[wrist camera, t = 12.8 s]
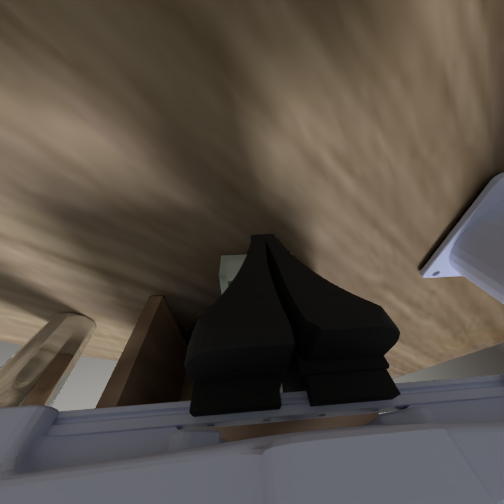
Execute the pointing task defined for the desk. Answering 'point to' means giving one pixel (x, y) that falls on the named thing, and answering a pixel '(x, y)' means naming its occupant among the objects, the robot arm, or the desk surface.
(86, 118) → the desk surface
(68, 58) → the desk surface
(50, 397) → the milkshake
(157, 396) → the brown open box
